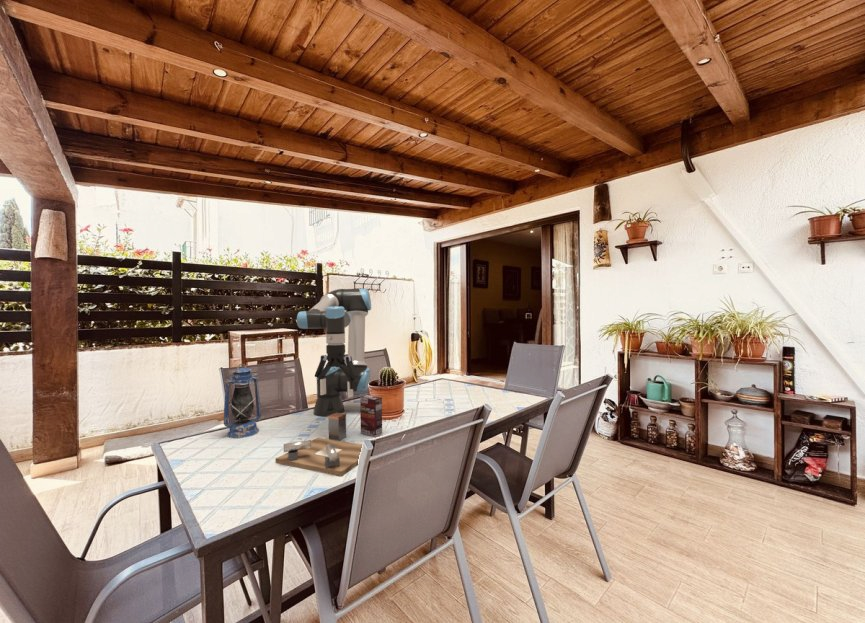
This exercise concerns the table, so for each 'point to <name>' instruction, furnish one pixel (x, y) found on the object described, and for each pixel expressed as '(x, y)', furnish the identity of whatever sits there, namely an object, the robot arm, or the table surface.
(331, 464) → the shaft
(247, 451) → the table surface
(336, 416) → the block
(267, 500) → the table surface
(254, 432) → the lantern
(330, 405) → the robot arm
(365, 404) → the supplement box
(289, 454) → the shaft
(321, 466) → the cradle board
